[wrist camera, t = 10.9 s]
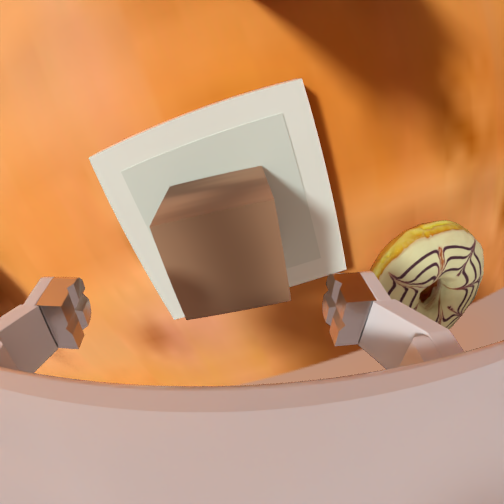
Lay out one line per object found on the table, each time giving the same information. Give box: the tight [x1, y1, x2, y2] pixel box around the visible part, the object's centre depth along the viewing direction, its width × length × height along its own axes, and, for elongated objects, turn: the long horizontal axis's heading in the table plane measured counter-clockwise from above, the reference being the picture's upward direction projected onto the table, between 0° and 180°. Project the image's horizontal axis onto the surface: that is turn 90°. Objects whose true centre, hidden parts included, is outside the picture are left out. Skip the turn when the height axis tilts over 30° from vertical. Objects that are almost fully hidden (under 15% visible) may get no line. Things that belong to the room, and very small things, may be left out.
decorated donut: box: [370, 220, 484, 329], centre depth 21 cm, size 10×11×4 cm
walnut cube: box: [150, 166, 291, 320], centre depth 16 cm, size 5×5×5 cm
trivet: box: [89, 79, 346, 320], centre depth 18 cm, size 12×12×2 cm
